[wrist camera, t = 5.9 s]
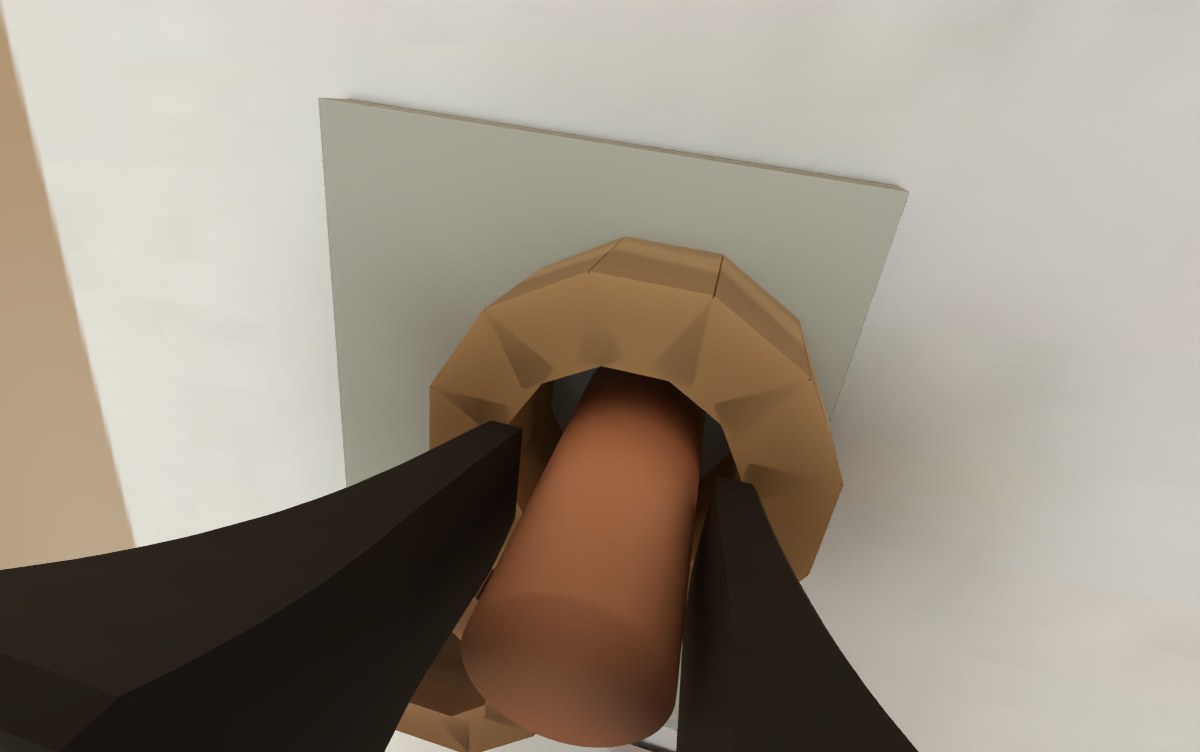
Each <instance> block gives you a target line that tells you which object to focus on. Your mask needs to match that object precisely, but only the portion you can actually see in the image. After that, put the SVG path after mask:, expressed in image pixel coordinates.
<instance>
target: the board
mask: <svg viewBox="0 0 1200 752" xmlns="http://www.w3.org/2000/svg"><path fill="white" fill-rule="evenodd" d="M318 99H319V113H320V127H321V141H322V155H323V169H324V182H325V196H326V210H327V224H328V238H329V252H330V266H331V279H332V293H333V307H334V321H335V335H336V349H337V362H338V376H339V390H340V404H341V418H342V432H343V445H344V459H345V473H346V487H349V486H352V485H354V484H356V483H359V482H361V481H363V480H365V479H368V478H370V477H372V476H375V475H377V474H379V473H382V472H384V471H386V470H389V469H391V468H393V467H395V466H398V465H400V464H402V463H404V462H406V461H409V460H411V459H413V458H415V457H417V456H419V455H421V454H423V453H425V452H427V451H429V387H430V384H431V383H432V382H433V380H434V379H435V377H436V376H437V375H438V373H439V372H440V370H441V369H442V367H443V366H444V365H445V363H446V362H447V360H448V359H449V357H450V356H451V355H452V353H453V352H454V350H455V349H456V347H457V346H458V345H459V343H460V342H461V340H462V339H463V338H464V336H465V335H466V333H467V332H468V330H469V329H470V328H471V326H472V325H473V323H474V322H475V320H476V319H477V318H478V316H479V315H480V313H481V312H482V310H483V309H485V308H486V307H487V306H489V305H490V304H491V303H493V302H494V301H496V300H497V299H498V298H500V297H501V296H503V295H504V294H505V293H507V292H508V291H510V290H511V289H512V288H514V287H515V286H516V285H518V284H519V283H521V282H522V281H523V280H525V279H526V278H528V277H529V276H530V275H532V274H533V273H534V272H536V271H537V270H539V269H540V268H542V267H545V266H547V265H550V264H553V263H555V262H558V261H561V260H563V259H566V258H569V257H571V256H574V255H577V254H579V253H582V252H585V251H587V250H590V249H593V248H595V247H598V246H601V245H603V244H606V243H609V242H611V241H614V240H617V239H619V238H622V237H632V238H637V239H643V240H648V241H654V242H659V243H664V244H670V245H675V246H681V247H686V248H692V249H697V250H702V251H708V252H713V253H719V254H723V255H722V257H723V256H724V255H725V256H726V257H727V258H728V259H730V260H731V261H732V262H733V263H734V264H735V265H736V266H738V267H739V268H740V269H741V270H742V271H743V272H745V273H746V274H747V275H748V276H749V277H750V278H752V279H753V280H754V281H755V282H756V283H757V284H758V285H760V286H761V287H762V288H763V289H764V290H765V291H767V292H768V293H769V294H770V295H771V296H772V297H774V298H775V299H776V300H777V301H778V302H779V303H780V304H782V305H783V306H784V307H785V308H786V309H787V310H789V311H790V312H791V313H792V314H793V315H794V316H796V317H797V318H798V320H799V321H800V325H801V328H802V332H803V335H804V338H805V342H806V345H807V348H808V352H809V355H810V359H811V362H812V365H813V369H814V372H815V375H816V379H817V382H818V385H819V389H820V392H821V396H822V399H823V402H824V406H825V410H826V414H827V419H828V423H829V421H830V419H831V416H832V413H833V410H834V407H835V404H836V401H837V398H838V396H839V393H840V390H841V387H842V384H843V381H844V378H845V375H846V373H847V370H848V367H849V364H850V361H851V358H852V355H853V352H854V350H855V347H856V344H857V341H858V338H859V335H860V332H861V329H862V327H863V324H864V321H865V318H866V315H867V312H868V309H869V307H870V304H871V301H872V298H873V295H874V292H875V289H876V286H877V284H878V281H879V278H880V275H881V272H882V269H883V266H884V263H885V261H886V258H887V255H888V252H889V249H890V246H891V243H892V240H893V238H894V235H895V232H896V229H897V226H898V223H899V220H900V217H901V215H902V212H903V209H904V206H905V203H906V200H907V197H908V194H909V192H908V191H906V190H904V189H902V188H900V187H898V186H894V185H888V184H881V183H875V182H869V181H862V180H856V179H850V178H843V177H837V176H831V175H824V174H818V173H812V172H805V171H799V170H793V169H787V168H780V167H774V166H768V165H761V164H755V163H749V162H742V161H736V160H730V159H723V158H717V157H711V156H704V155H698V154H692V153H685V152H679V151H673V150H666V149H660V148H654V147H647V146H641V145H635V144H628V143H622V142H616V141H609V140H603V139H597V138H591V137H584V136H578V135H572V134H565V133H559V132H553V131H546V130H540V129H534V128H527V127H521V126H515V125H508V124H502V123H496V122H489V121H483V120H477V119H470V118H464V117H458V116H451V115H445V114H439V113H432V112H426V111H420V110H413V109H407V108H401V107H394V106H388V105H382V104H376V103H369V102H363V101H357V100H350V99H331V98H318ZM598 368H599V367H596V368H593V369H589V370H586V371H583V372H579V373H576V374H572V375H569V376H566V377H562V378H559V379H555V380H554V385H553V394H552V404H551V409H552V411H553V413H554V416H555V418H556V420H557V422H558V424H559V427H560V429H561V431H562V433H563V432H564V430H565V428H566V426H567V424H568V422H569V420H570V418H571V416H572V414H573V412H574V411H575V409H576V407H577V405H578V403H579V401H580V399H581V397H582V395H583V393H584V391H585V389H586V387H587V385H588V383H589V381H590V379H591V377H592V375H593V374H594V373H595V371H596V370H597V369H598ZM730 453H731V450H730V447H729V444H728V442H727V439H726V436H725V433H724V431H723V428H722V425H721V424H720V423H719V422H717V421H716V420H715V419H714V418H713V417H711V416H710V415H709V414H708V413H707V412H706V417H705V426H704V436H703V446H702V455H701V465H700V475H699V480H700V479H701V478H702V477H704V476H705V475H706V474H707V473H708V472H709V471H710V470H712V469H713V468H714V467H715V466H716V465H717V464H718V463H720V462H721V461H722V460H723V459H724V458H725V457H727V456H728V455H729V454H730ZM681 656H682V649H681ZM680 674H681V658H680V668H679V678H678V687H677V697H676V703H675V707H674V710H673V712H672V715H671V716H670V718H669V719H668V721H667V722H666V723H665V724H664V725H663V726H666V727H669V728H672V729H675V730H678V711H679V693H680Z"/></svg>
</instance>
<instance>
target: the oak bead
mask: <svg viewBox="0 0 1200 752" xmlns="http://www.w3.org/2000/svg"><path fill="white" fill-rule="evenodd" d="M722 255H723V254H719V253H713V252H708V251H702V250H697V249H692V248H686V247H681V246H675V245H670V244H664V243H659V242H654V241H648V240H643V239H637V238H632V237H622V238H619V239H617V240H614V241H611V242H609V243H606V244H603V245H601V246H598V247H595V248H593V249H590V250H587V251H585V252H582V253H579V254H577V255H574V256H571V257H569V258H566V259H563V260H561V261H558V262H555V263H553V264H550V265H547V266H545V267H542V268H540V269H539V270H537V271H536V272H534V273H533V274H532V275H530V276H529V277H528V278H526V279H525V280H523V281H522V282H521V283H519V284H518V285H516V286H515V287H514V288H512V289H511V290H510V291H508V292H507V293H505V294H504V295H503V296H501V297H500V298H498V299H497V300H496V301H494V302H493V303H491V304H490V305H489V306H487V307H486V308H485V309H483V310H482V312H481V313H480V315H479V316H478V318H477V319H476V320H475V322H474V323H473V325H472V326H471V328H470V329H469V330H468V332H467V333H466V335H465V336H464V338H463V339H462V340H461V342H460V343H459V345H458V346H457V347H456V349H455V350H454V352H453V353H452V355H451V356H450V357H449V359H448V360H447V362H446V363H445V365H444V366H443V367H442V369H441V370H440V372H439V373H438V375H437V376H436V377H435V379H434V380H433V382H432V383H431V384H430V387H429V450H431V449H433V448H435V447H437V446H439V445H441V444H443V443H445V442H447V441H449V440H451V439H453V438H455V437H457V436H459V435H461V434H463V433H465V432H467V431H469V430H471V429H473V428H475V427H477V426H479V425H482V424H484V423H486V422H489V421H491V420H492V421H496V422H500V423H504V424H508V425H512V426H516V427H520V428H523V431H522V443H521V455H520V467H519V479H518V490H517V502H516V514H515V520H514V522H513V524H512V527H511V529H510V531H509V533H508V535H507V538H506V540H505V542H504V544H503V546H502V549H501V551H500V553H499V555H498V557H497V559H496V561H495V563H494V565H493V567H492V569H495V567H496V565H497V563H498V561H499V559H500V557H501V555H502V553H503V551H504V549H505V547H506V545H507V543H508V541H509V539H510V537H511V535H512V533H513V531H514V529H515V527H516V525H517V523H518V522H519V520H520V518H521V516H522V514H523V512H524V510H525V508H526V506H527V504H528V502H529V500H530V498H531V496H532V494H533V492H534V490H535V488H536V486H537V484H538V482H539V480H540V478H541V476H542V474H543V472H544V470H545V468H546V466H547V464H548V462H549V460H550V458H551V456H552V454H553V452H554V450H555V448H556V446H557V444H558V442H559V440H560V438H561V436H562V434H563V433H562V431H561V429H560V427H559V424H558V422H557V420H556V418H555V416H554V413H553V411H552V409H551V404H552V394H553V385H554V380H555V379H559V378H562V377H566V376H569V375H572V374H576V373H579V372H583V371H586V370H589V369H593V368H596V367H600V366H603V367H608V368H612V369H617V370H621V371H626V372H630V373H635V374H639V375H644V376H648V377H653V378H657V379H662V380H667V381H669V382H671V383H672V384H673V385H674V386H675V387H677V388H678V389H679V390H680V391H681V392H683V393H684V394H685V395H686V396H687V397H689V398H690V399H691V400H692V401H693V402H695V403H696V404H697V405H698V406H699V407H701V408H702V409H703V410H704V411H705V412H707V413H708V414H709V415H710V416H711V417H713V418H714V419H715V420H716V421H717V422H719V423H720V424H721V425H722V428H723V431H724V433H725V436H726V439H727V442H728V444H729V447H730V450H731V453H730V454H729V455H728V456H727V457H725V458H724V459H723V460H722V461H721V462H720V463H718V464H717V465H716V466H715V467H714V468H713V469H712V470H710V471H709V472H708V473H707V474H706V475H705V476H704V477H702V478H701V479H700V480H699V484H698V494H697V504H696V513H695V523H694V533H693V542H692V552H691V562H690V571H689V581H688V590H689V585H690V579H691V573H692V567H693V563H694V559H695V555H696V552H697V548H698V544H699V540H700V536H701V533H702V529H703V525H704V521H705V517H706V514H707V510H708V506H709V502H710V498H711V495H712V491H713V487H714V483H715V479H716V476H721V477H725V478H729V479H733V480H737V481H741V482H745V483H749V484H753V486H754V487H755V489H756V490H757V492H758V495H759V497H760V500H761V502H762V505H763V507H764V510H765V512H766V515H767V517H768V519H769V522H770V524H771V526H772V528H773V531H774V533H775V535H776V537H777V539H778V541H779V543H780V546H781V548H782V550H783V552H784V554H785V556H786V558H787V560H788V561H789V563H790V565H791V567H792V569H793V571H794V573H795V575H796V577H797V579H798V581H800V580H802V579H803V578H805V577H806V576H808V574H809V573H810V571H811V568H812V565H813V563H814V560H815V557H816V555H817V552H818V550H819V547H820V544H821V542H822V539H823V536H824V534H825V531H826V529H827V526H828V523H829V521H830V518H831V515H832V513H833V510H834V508H835V505H836V502H837V500H838V497H839V494H840V492H841V489H842V487H843V482H842V478H841V474H840V469H839V465H838V461H837V457H836V452H835V448H834V444H833V440H832V436H831V431H830V427H829V423H828V419H827V414H826V410H825V406H824V402H823V399H822V396H821V392H820V389H819V385H818V382H817V379H816V375H815V372H814V369H813V365H812V362H811V359H810V355H809V352H808V348H807V345H806V342H805V338H804V335H803V332H802V328H801V325H800V321H799V320H798V318H797V317H796V316H794V315H793V314H792V313H791V312H790V311H789V310H787V309H786V308H785V307H784V306H783V305H782V304H780V303H779V302H778V301H777V300H776V299H775V298H774V297H772V296H771V295H770V294H769V293H768V292H767V291H765V290H764V289H763V288H762V287H761V286H760V285H758V284H757V283H756V282H755V281H754V280H753V279H752V278H750V277H749V276H748V275H747V274H746V273H745V272H743V271H742V270H741V269H740V268H739V267H738V266H736V265H735V264H734V263H733V262H732V261H731V260H730V259H728V258H727V257H726V256H725V255H724V256H723V257H722ZM687 596H688V591H687ZM686 603H687V600H686Z"/></svg>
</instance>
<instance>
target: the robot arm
mask: <svg viewBox="0 0 1200 752" xmlns="http://www.w3.org/2000/svg"><path fill="white" fill-rule="evenodd" d="M522 431H523V428H520V427H516V426H512V425H508V424H504V423H500V422H496V421H492V420H491V421H489V422H486V423H484V424H482V425H479V426H477V427H475V428H473V429H471V430H469V431H467V432H465V433H463V434H461V435H459V436H457V437H455V438H453V439H451V440H449V441H447V442H445V443H443V444H441V445H439V446H437V447H435V448H433V449H431V450H429V451H427V452H425V453H423V454H421V455H419V456H417V457H415V458H413V459H411V460H409V461H406V462H404V463H402V464H400V465H398V466H395V467H393V468H391V469H389V470H386V471H384V472H382V473H379V474H377V475H375V476H372V477H370V478H368V479H365V480H363V481H361V482H359V483H356V484H354V485H352V486H349V487H347V488H344V489H342V490H339V491H337V492H334V493H331V494H329V495H326V496H323V497H321V498H318V499H315V500H312V501H309V502H306V503H303V504H300V505H297V506H295V507H292V508H289V509H286V510H283V511H280V512H276V513H273V514H270V515H267V516H263V517H260V518H256V519H252V520H248V521H245V522H241V523H237V524H234V525H230V526H226V527H223V528H219V529H215V530H212V531H208V532H204V533H201V534H197V535H193V536H188V537H184V538H180V539H175V540H171V541H166V542H162V543H157V544H153V545H148V546H143V547H138V548H133V549H128V550H123V551H118V552H112V553H108V554H102V555H96V556H91V557H85V558H79V559H73V560H67V561H60V562H53V563H46V564H40V565H33V566H26V567H19V568H12V569H5V570H0V752H384V751H385V749H386V747H387V745H388V743H389V741H390V739H391V737H392V736H393V734H394V732H395V730H396V728H397V726H398V724H399V722H400V720H401V718H402V716H403V714H404V712H405V710H406V708H407V706H408V704H409V702H410V700H411V698H412V696H413V695H414V693H415V691H416V689H417V688H418V686H419V684H420V682H421V681H422V679H423V677H424V676H425V674H426V672H427V670H428V669H429V667H430V666H431V664H432V663H433V661H434V659H435V658H436V656H437V655H438V653H439V652H440V650H441V648H442V647H443V645H444V644H445V642H446V640H447V639H448V637H449V636H450V634H451V633H452V631H453V629H454V628H455V626H456V625H457V623H458V621H459V620H460V618H461V617H462V615H463V614H464V612H465V610H466V609H467V607H468V606H469V604H470V603H471V601H472V599H473V598H474V596H475V595H476V593H477V591H478V590H479V588H480V586H481V585H482V583H483V582H484V580H485V578H486V577H487V575H488V574H489V572H490V570H491V569H492V567H493V565H494V563H495V561H496V559H497V557H498V555H499V553H500V551H501V549H502V546H503V544H504V542H505V540H506V538H507V535H508V533H509V531H510V529H511V527H512V524H513V522H514V520H515V514H516V502H517V490H518V479H519V467H520V455H521V443H522ZM611 752H652V751H649V750H646V749H643V748H640V747H637V746H634V745H630V744H628V745H623V746H616V747H613V748H612V751H611ZM676 752H918V751H917V749H916V748H915V747H914V746H913V745H912V743H911V742H910V741H909V740H908V739H907V737H906V736H905V735H904V734H903V733H902V731H901V730H900V729H899V728H898V727H897V725H896V724H895V723H894V722H893V720H892V719H891V718H890V717H889V716H888V714H887V713H886V712H885V711H884V709H883V708H882V707H881V705H880V704H879V703H878V702H877V700H876V699H875V698H874V696H873V695H872V694H871V693H870V691H869V690H868V689H867V687H866V686H865V685H864V683H863V682H862V680H861V679H860V677H859V676H858V675H857V673H856V672H855V670H854V669H853V668H852V666H851V665H850V663H849V662H848V661H847V659H846V658H845V656H844V655H843V653H842V652H841V650H840V649H839V647H838V646H837V644H836V643H835V641H834V640H833V638H832V637H831V635H830V633H829V632H828V630H827V629H826V627H825V625H824V624H823V622H822V620H821V619H820V617H819V615H818V614H817V612H816V610H815V609H814V607H813V605H812V604H811V602H810V600H809V599H808V597H807V595H806V593H805V592H804V590H803V588H802V586H801V584H800V583H799V581H798V579H797V577H796V575H795V573H794V571H793V569H792V567H791V565H790V563H789V561H788V560H787V558H786V556H785V554H784V552H783V550H782V548H781V546H780V543H779V541H778V539H777V537H776V535H775V533H774V531H773V528H772V526H771V524H770V522H769V519H768V517H767V515H766V512H765V510H764V507H763V505H762V502H761V500H760V497H759V495H758V492H757V490H756V489H755V487H754V486H753V484H749V483H745V482H741V481H737V480H733V479H729V478H725V477H721V476H716V479H715V483H714V487H713V491H712V495H711V498H710V502H709V506H708V510H707V514H706V517H705V521H704V525H703V529H702V533H701V536H700V540H699V544H698V548H697V552H696V555H695V559H694V563H693V567H692V573H691V579H690V585H689V590H688V596H687V603H686V610H685V620H684V629H683V639H682V656H681V674H680V693H679V711H678V730H677V748H676Z"/></svg>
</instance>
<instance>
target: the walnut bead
mask: <svg viewBox="0 0 1200 752" xmlns="http://www.w3.org/2000/svg"><path fill="white" fill-rule="evenodd" d="M493 571H494V569H491V570H490V572H489V574H488V575H487V577H486V578H485V580H484V582H483V583H482V585H481V586H480V588H479V590H478V591H477V593H476V595H475V596H474V598H473V599H472V601H471V603H470V604H469V606H468V607H467V609H466V610H465V612H464V614H463V615H462V617H461V618H460V620H459V621H458V623H457V625H456V626H455V628H454V629H453V631H452V633H451V634H450V636H449V637H448V639H447V640H446V642H445V644H444V645H443V647H442V648H441V650H440V652H439V653H438V655H437V656H436V658H435V659H434V661H433V663H432V664H431V666H430V667H429V669H428V670H427V672H426V674H425V676H424V677H423V679H422V681H421V682H420V684H419V686H418V688H417V689H416V691H415V693H414V695H413V696H412V698H411V700H410V702H409V704H408V706H407V708H406V710H405V712H404V714H403V716H402V718H401V720H400V722H399V724H398V726H397V728H396V730H397V731H400V732H403V733H406V734H409V735H412V736H415V737H418V738H421V739H424V740H426V741H429V742H432V743H435V744H438V745H441V746H444V747H447V748H450V749H453V750H456V751H459V752H483V751H486V750H489V749H492V748H496V747H499V746H502V745H506V744H509V743H512V742H515V741H519V740H522V739H525V738H529V737H532V736H534V734H535V733H533V732H531V731H529V730H527V729H525V728H523V727H521V726H519V725H518V724H516V723H514V722H513V721H511V720H510V719H508V718H507V717H505V716H504V715H503V714H501V713H500V712H498V711H497V710H496V709H495V708H494V707H493V706H492V705H490V704H489V703H488V702H487V701H486V700H485V698H484V697H483V696H482V695H481V694H480V693H479V692H478V690H477V689H476V688H475V686H474V685H473V683H472V682H471V680H470V678H469V677H468V674H467V672H466V670H465V668H464V664H463V661H462V657H461V638H462V635H463V631H464V629H465V627H466V625H467V623H468V621H469V619H470V617H471V615H472V613H473V611H474V609H475V607H476V605H477V603H478V601H479V599H480V597H481V595H482V593H483V591H484V589H485V587H486V585H487V583H488V581H489V579H490V577H491V575H492V573H493Z"/></svg>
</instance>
